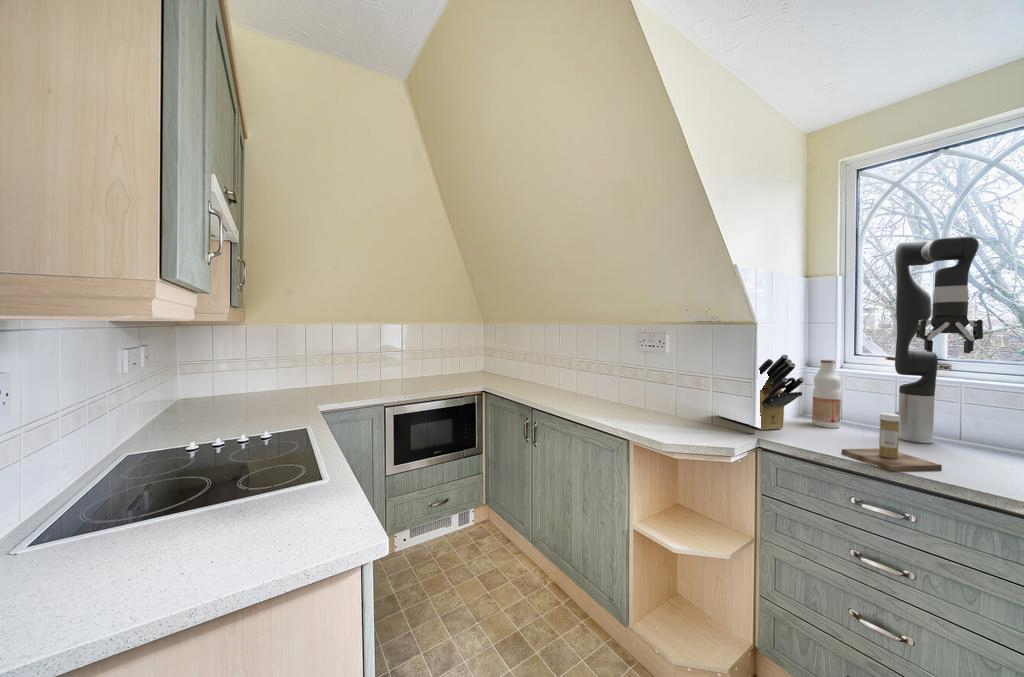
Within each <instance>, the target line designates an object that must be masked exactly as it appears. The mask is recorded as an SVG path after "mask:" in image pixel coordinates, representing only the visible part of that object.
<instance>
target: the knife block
mask: <svg viewBox="0 0 1024 677" xmlns="http://www.w3.org/2000/svg"><path fill="white" fill-rule="evenodd" d="M795 367H796V364H795V363H794V362H792V360H791V359H790V358H789V356H788V354H782V355H781V356H780V358H778V359H777V360H776V361H775V362H774V361H773V360H772V359H770V358H768V359H766V360H765V361H764V362H763V363H762V364H761V365H760V366H759V367H758V369H759V370H760V374H761V375H762V374H765V373H766V372H767V374H768V376H769V378H768V380H767V381H766V383H765V385H764V386H763V388H762V390H760V413H761V414H760V416H761V430H760V431H764V430H766V431H767V430H780V429H783V428H784V418H785V417H784V415H785V414H784V413H785V406H788V404H791V403H792V402H793V401H795V400H796V399H797V398H799V397H801V396H802V395H803V392H802V391H794V390H795V389H797V388H799V386H801V385H802V384H803V383H804V382H805V378H804V377H799V378H797V379H796V378H794V377H789V378H787V376H788V375H790V374H791V373H792V372H793V370H794V369H795ZM793 391H794V392H793Z"/></svg>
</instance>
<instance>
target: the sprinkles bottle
mask: <svg viewBox="0 0 1024 677" xmlns="http://www.w3.org/2000/svg"><path fill="white" fill-rule="evenodd" d="M899 421H900V416H899V415H897V414H896V413H891V412H890V413H889V412H880V413H879V422H880V423H879V442H878V443H879V447H878V448H879V455H880V456H883V457H886V458H893V459H895V458H898V452H899V446H900V445H899V444H900V438H899Z"/></svg>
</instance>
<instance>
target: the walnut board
mask: <svg viewBox="0 0 1024 677" xmlns="http://www.w3.org/2000/svg"><path fill="white" fill-rule="evenodd" d="M841 454H842V455H844V456H847V457H850V458H853V457H854V458H853V459H855V458H856V460H858V459H859V461H861V460H862V461H861V462H864V461H865V462H864V463H867V462H868V463H867V464H869V463H871V464H870V465H872V464H874V465H873V466H875V465H877V466H876V467H878V466H879V468H881V467H882V468H881V469H883V468H884V469H883V470H887V471H889V472H924V471H925V470H926V471H928V472H929V470H931V471H942V470H943V469H942V468H943V464H939V463H935V462H932V461H931V460H930V461H929V460H926V459H923V458H919V457H917V456H912V455H910V454H906V453H903V452H900V451H898V458H895V459H893V458H886V457H883V456H880V455H879V447H876V448H841ZM926 471H925V472H926Z"/></svg>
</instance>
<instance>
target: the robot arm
mask: <svg viewBox="0 0 1024 677" xmlns="http://www.w3.org/2000/svg"><path fill="white" fill-rule="evenodd" d="M979 245H980V244H979V241H978V240H977V238H976V237H975V236H970V235H969V236H968V235H967V236H954V237H953V236H952V237H941V238H934V239H933V240H915V241H914V240H913V241H902V242H900V243H897V245H896V247H895V248H894V264H895V265H894V266H895V268H894V269H895V276H896V299H895V302H896V303H895V311H896V312H895V316H896V341H895V342H896V344H895V353H894V354H895V355H894V368H895V372H896V373H897V374H898V375H901V376H916V377H920V379H918V380H917V381H914V382H911V383H910V382H909V383H905V384H904V383H903V384H901V385H900V386H899V388H898V392H899V393H898V394H899V395H898V411H896V412H895V414H897V415H899V416H900V421H899V440H900V439H901V440H903V441H907V442H912V443H919V444H920V443H921V444H933V443H934V442H933V440H934V421H935V420H934V419H935V418H934V417H935V396H936V394H935V393H936V383H937V374H938V364H939V363H938V362H939V358H938V355H937V354H936V352H934V350H933V348H934V347H933V346H934V340H933V339H934V338H935V337H936V336H938V335H939V334H958V336H961V337H962V338H963V339H964V341H963V353H964V354H971V352H973V351H974V345H975V343H974V342H975V341H977V340H982V339H984V328H983V327H984V326H983V324H984V323H983V320H982V319H972V320H969V319H968V313H969V300H970V298H969V295H970V294H969V287H968V284H969V273H970V268H971V265H972V263H973V260H974V258H975V256H976V255H977V252H978V250H979V247H980V246H979ZM955 260H956V261H957V263H956V264H955V265H953V266H948V267H943V268H939V269H937V270H936V271H935V274H934V276H935V277H934V287H933V288H934V289H933V292H932V293H933V294H932V299H931V297H930V295H929V293H928V292H927V291H926V290H925V289H924V288H923V287H922V286H921V285H920V283H918V282H917V281H916V279H915V278H914V277H913V275H912V272H911V270H910V267H911V266H912V267H913V266H914V267H915V266H916V267H917V266H926V265H930V264H933V263H935V262H942V261H943V262H944V261H955ZM931 316H932V317H931ZM930 318H931V319H930ZM929 325H931V327H933V328H932V329H931V330H929V331H928V332H927V334H926V329H927V327H928V326H929ZM968 325H970V327H971V328H972V334H971V332H969V330H968V329H967V328H966V327H967V326H968ZM914 336H915V337H916V338H917V339H921V340H923V341H924V342H923V344H924V345H923V346H924V347H923V349H924V350H910V349H909V347H910V344H911V341H912V340H913V338H914Z"/></svg>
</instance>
